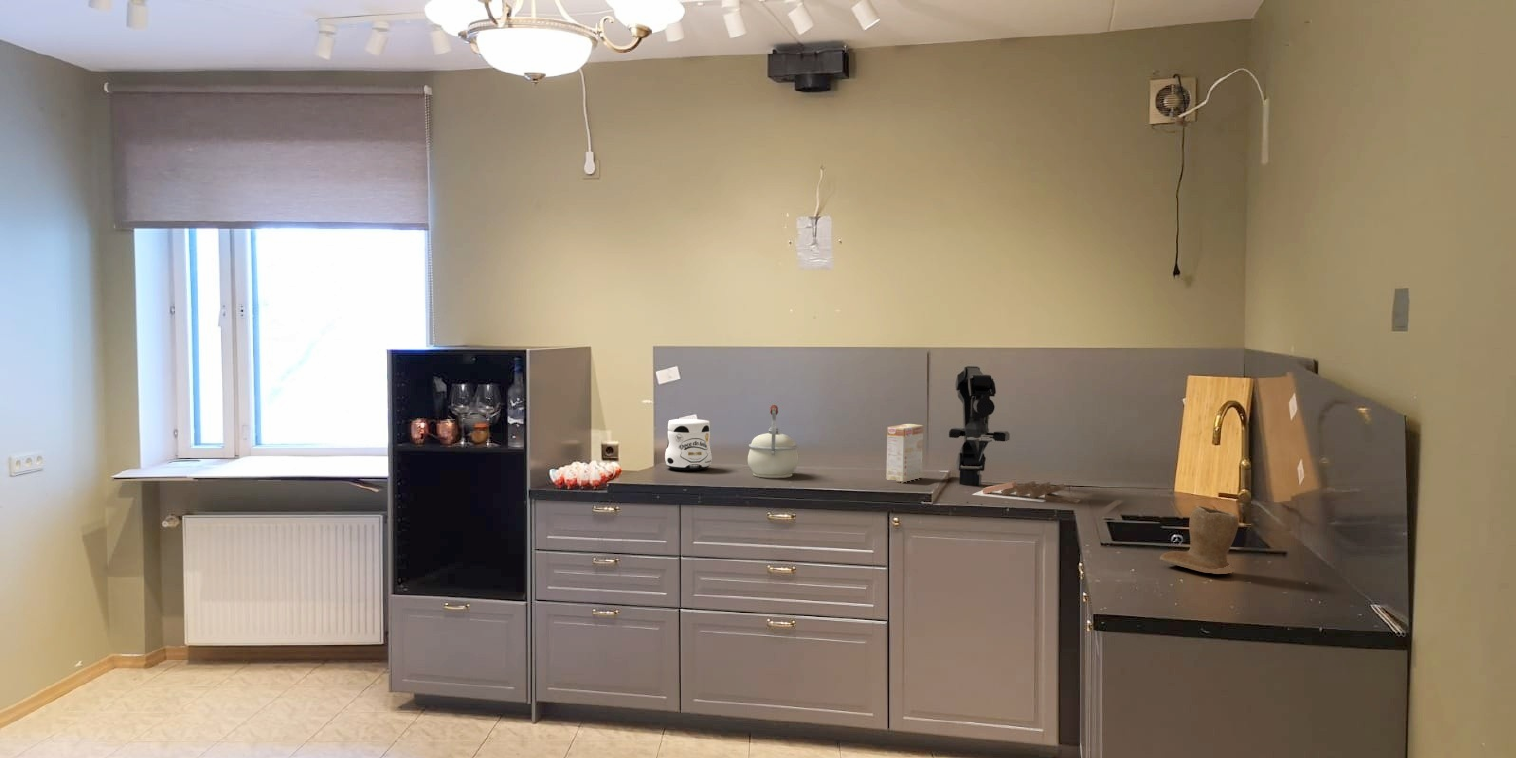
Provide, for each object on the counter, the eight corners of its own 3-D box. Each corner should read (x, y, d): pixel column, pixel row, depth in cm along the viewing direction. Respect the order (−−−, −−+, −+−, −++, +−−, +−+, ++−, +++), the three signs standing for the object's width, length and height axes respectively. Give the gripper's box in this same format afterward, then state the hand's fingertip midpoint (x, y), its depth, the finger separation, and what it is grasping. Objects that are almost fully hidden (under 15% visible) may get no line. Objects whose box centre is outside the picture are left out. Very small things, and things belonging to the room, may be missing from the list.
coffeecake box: (905, 476, 387) (906, 423, 386) (922, 479, 383) (924, 424, 382) (885, 481, 375) (886, 426, 374) (903, 483, 371) (904, 427, 370)
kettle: (798, 480, 374) (800, 409, 372) (746, 479, 374) (747, 408, 372) (797, 470, 399) (798, 403, 397) (748, 469, 399) (749, 402, 397)
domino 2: (1001, 491, 342) (1030, 482, 337) (1005, 489, 346) (1034, 480, 341) (1002, 495, 342) (1032, 487, 337) (1007, 493, 346) (1036, 485, 341)
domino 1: (982, 489, 345) (1011, 482, 340) (987, 487, 349) (1016, 480, 344) (983, 493, 345) (1012, 487, 340) (988, 491, 349) (1017, 485, 344)
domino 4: (1029, 493, 337) (1059, 485, 332) (1033, 491, 342) (1063, 483, 337) (1031, 498, 337) (1061, 490, 332) (1035, 496, 341) (1065, 488, 336)
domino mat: (971, 498, 343) (971, 494, 343) (989, 490, 359) (989, 487, 359) (1043, 505, 332) (1043, 501, 332) (1057, 497, 347) (1058, 494, 347)
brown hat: (1248, 575, 244) (1251, 510, 243) (1214, 581, 238) (1217, 514, 237) (1191, 561, 257) (1193, 500, 256) (1158, 566, 251) (1160, 503, 250)
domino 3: (1015, 492, 339) (1045, 483, 335) (1020, 490, 344) (1049, 481, 339) (1017, 497, 339) (1047, 488, 334) (1021, 495, 344) (1051, 486, 339)
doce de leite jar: (693, 474, 384) (693, 424, 383) (655, 469, 393) (656, 421, 392) (720, 468, 399) (721, 421, 398) (683, 464, 408) (684, 417, 407)
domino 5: (1044, 494, 335) (1076, 502, 330) (1048, 492, 339) (1080, 499, 334) (1044, 499, 335) (1075, 507, 330) (1048, 497, 339) (1079, 504, 334)
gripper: (944, 413, 344) (942, 461, 345) (1001, 416, 335) (999, 466, 336) (954, 410, 354) (953, 457, 355) (1010, 414, 345) (1009, 462, 346)
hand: (978, 460), depth 348 cm, fingers closed
